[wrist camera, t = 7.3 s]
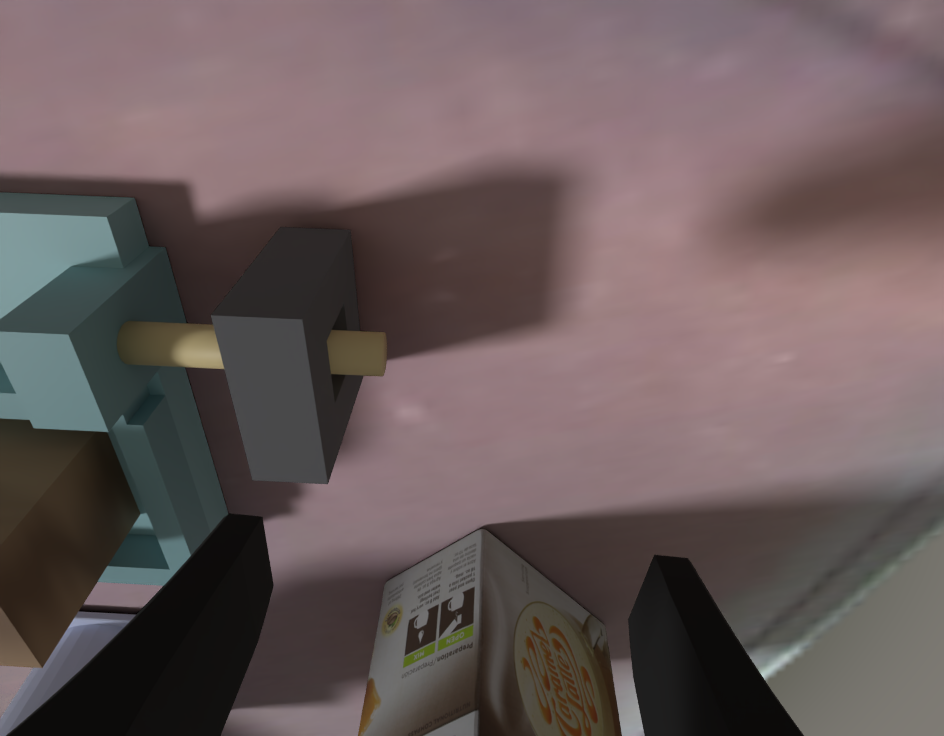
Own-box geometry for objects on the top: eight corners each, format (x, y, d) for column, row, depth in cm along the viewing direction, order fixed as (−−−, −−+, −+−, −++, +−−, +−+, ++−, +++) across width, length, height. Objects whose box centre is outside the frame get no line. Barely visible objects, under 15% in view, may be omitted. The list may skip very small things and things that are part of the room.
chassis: (410, 535, 25) (392, 649, 21) (20, 514, 26) (-71, 622, 22) (394, 207, 17) (359, 290, 13) (-171, 185, 18) (-373, 258, 14)
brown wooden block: (140, 513, 23) (42, 668, 18) (23, 507, 23) (-106, 658, 18) (103, 422, 21) (-23, 573, 16) (-29, 415, 21) (-195, 563, 16)
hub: (364, 374, 20) (328, 484, 16) (303, 371, 20) (252, 480, 16) (350, 230, 17) (302, 319, 13) (280, 226, 17) (211, 315, 13)
